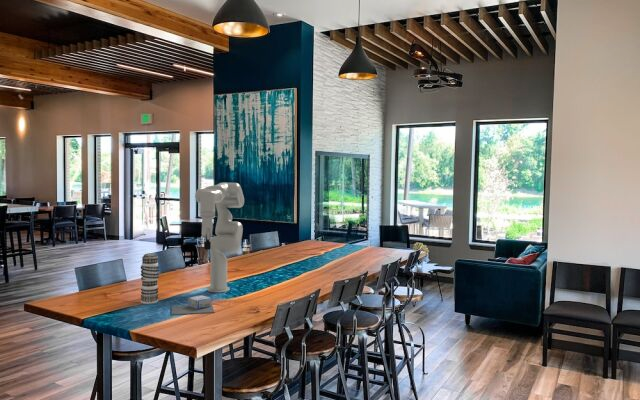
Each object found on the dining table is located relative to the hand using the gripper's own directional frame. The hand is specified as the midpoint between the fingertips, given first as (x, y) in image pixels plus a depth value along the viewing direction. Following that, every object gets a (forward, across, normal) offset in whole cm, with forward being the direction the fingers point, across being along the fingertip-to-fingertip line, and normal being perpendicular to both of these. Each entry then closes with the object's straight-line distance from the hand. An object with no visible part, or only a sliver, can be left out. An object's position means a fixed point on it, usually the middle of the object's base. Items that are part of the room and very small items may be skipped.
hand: (207, 249), depth 249 cm
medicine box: (+25, +6, -7) cm, 27 cm away
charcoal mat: (+28, +14, -8) cm, 32 cm away
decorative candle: (+28, -6, -29) cm, 41 cm away
